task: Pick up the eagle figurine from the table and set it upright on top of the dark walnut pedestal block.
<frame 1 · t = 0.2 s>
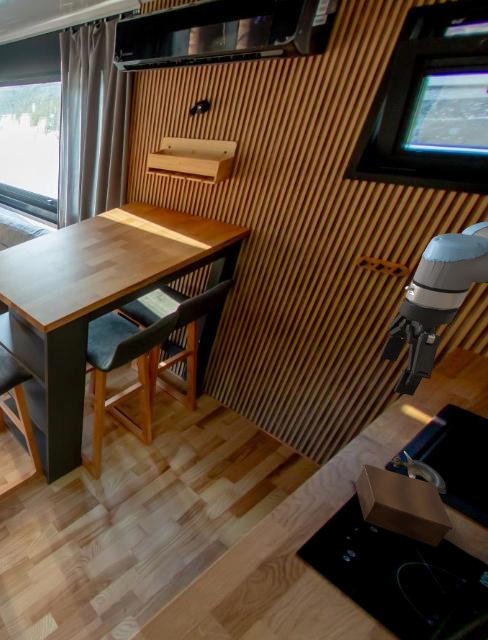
hand: (395, 375, 88), 30 cm above the worktop, tool pointing down, fingers open, 13 cm apart
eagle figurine: (415, 479, 93), on the worktop
walnut pedestal: (392, 513, 88), on the worktop
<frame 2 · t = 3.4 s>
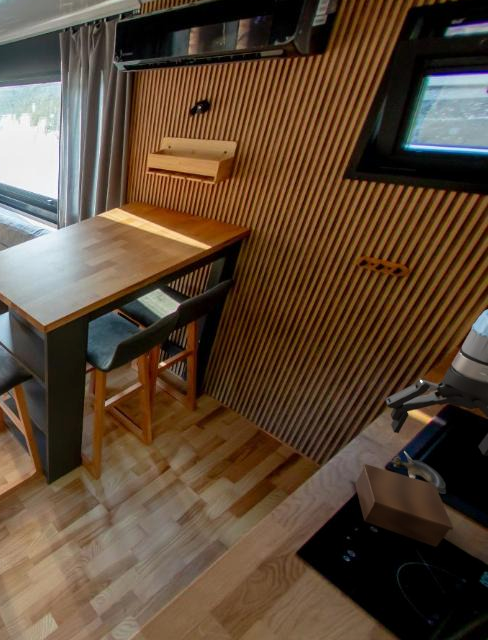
hand: (436, 439, 87), 15 cm above the worktop, tool pointing down, fingers open, 13 cm apart
nothing on the worktop moved.
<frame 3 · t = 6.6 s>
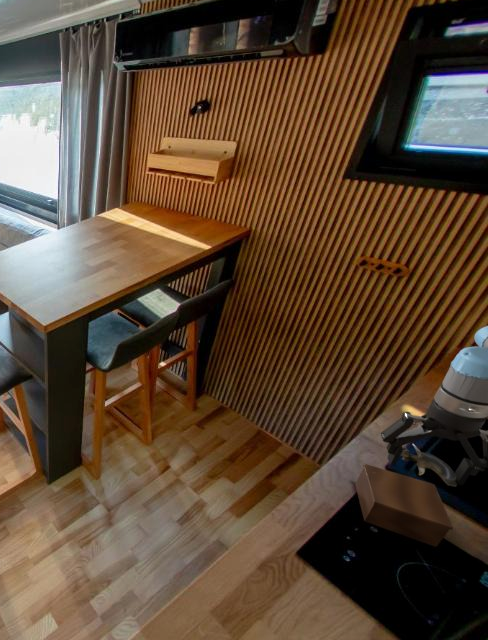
hand: (423, 470, 92), 4 cm above the worktop, tool pointing down, fingers closed on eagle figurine, 10 cm apart
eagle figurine: (424, 472, 92), point 3 cm above the worktop, touching gripper
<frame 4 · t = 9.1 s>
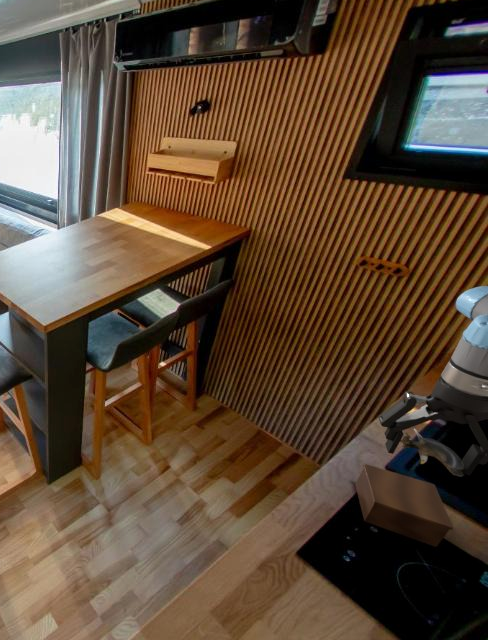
hand: (425, 459, 81), 18 cm above the worktop, tool pointing down, fingers closed on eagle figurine, 10 cm apart
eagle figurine: (427, 460, 81), point 17 cm above the worktop, touching gripper
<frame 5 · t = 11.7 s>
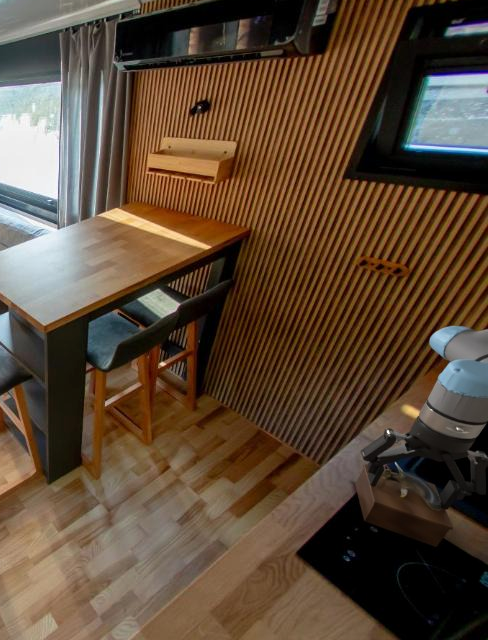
hand: (405, 492, 84), 8 cm above the worktop, tool pointing down, fingers closed on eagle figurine, 10 cm apart
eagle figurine: (407, 494, 84), point 8 cm above the worktop, touching gripper
when the fingers open (8 cm above the worktop, at t = 11.9 s): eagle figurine stays where it is, resting on walnut pedestal.
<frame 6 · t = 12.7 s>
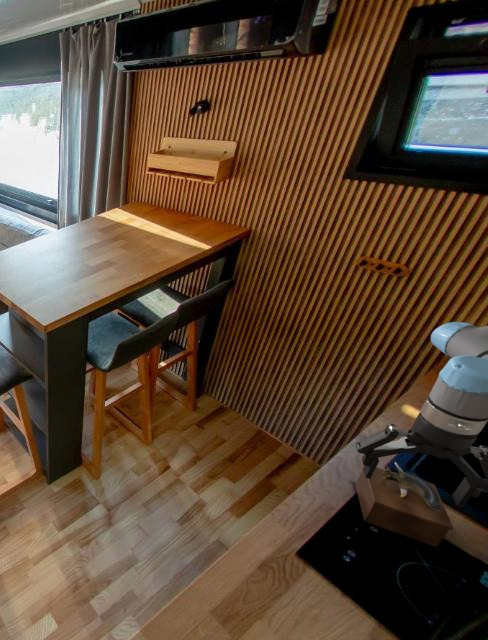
hand: (409, 487, 83), 10 cm above the worktop, tool pointing down, fingers open, 13 cm apart
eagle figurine: (406, 494, 84), point 8 cm above the worktop, touching walnut pedestal
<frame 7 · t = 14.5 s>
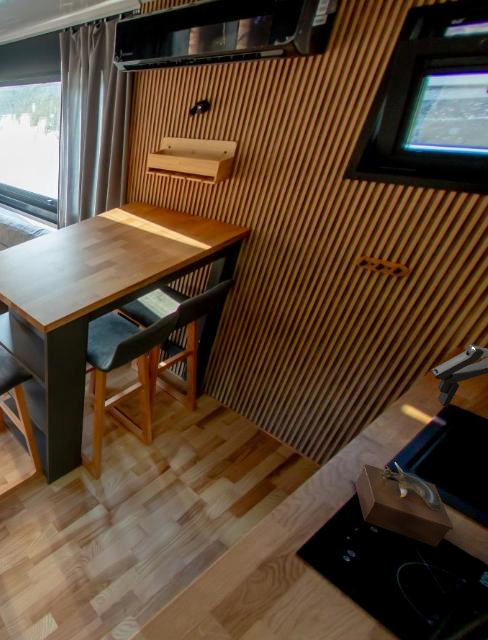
nothing on the worktop moved.
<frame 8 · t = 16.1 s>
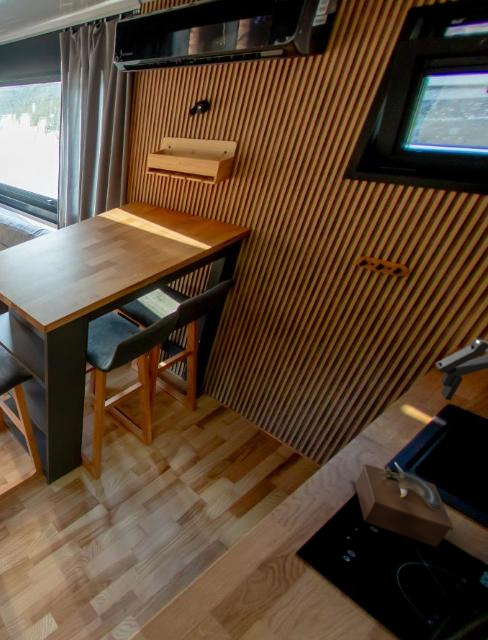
nothing on the worktop moved.
at the end: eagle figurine inside the target area on the walnut pedestal (0.4 cm from its centre), point 7.8 cm above the walnut pedestal's base; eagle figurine tilted 0°; the gripper is holding nothing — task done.
